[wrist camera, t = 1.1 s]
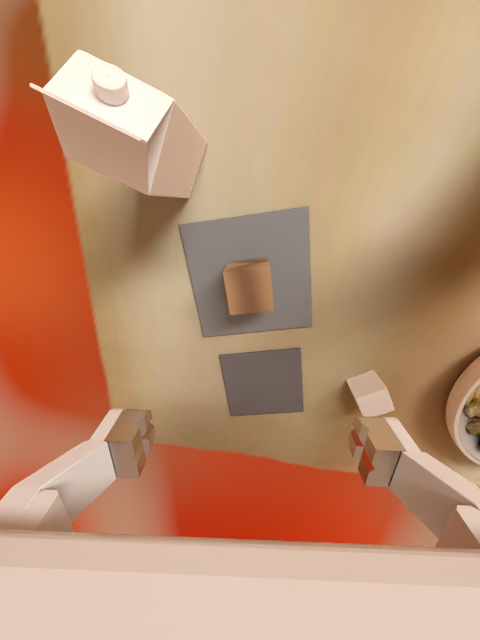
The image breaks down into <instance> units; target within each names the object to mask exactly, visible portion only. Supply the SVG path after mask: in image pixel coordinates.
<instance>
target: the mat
mask: <svg viewBox="0 0 480 640" xmlns="http://www.w3.org/2000/svg"><path fill="white" fill-rule="evenodd" d="M219 357H220V363H221V368H222V373H223V378H224V383H225V388H226V393H227V398H228V403H229V408H230V413H231V416H245V415H260V414H276V413H291V412H303V394H302V374H301V353H300V348H292V349H281V350H270V351H259V352H248V353H236V354H225V355H219Z"/></svg>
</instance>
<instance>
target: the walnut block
mask: <svg viewBox="0 0 480 640" xmlns="http://www.w3.org/2000/svg"><path fill="white" fill-rule="evenodd" d="M223 276H224V282H225V288H226V294H227V300H228V306H229V312H230V315H237V314H246V313H256V312H265V311H274V303H273V292H272V281H271V270H270V263H269V259H268V257H264V258H257V259H249V260H241V261H233V262H227V264H226V266H225V269H224V271H223Z"/></svg>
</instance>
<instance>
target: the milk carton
mask: <svg viewBox="0 0 480 640" xmlns="http://www.w3.org/2000/svg"><path fill="white" fill-rule="evenodd" d="M30 87H32V88H34V89H36V90H38V91H40V92H42V94H43V96H44V99H45V102H46V104H47V107H48V110H49V113H50V116H51V119H52V121H53V124H54V127H55V130H56V133H57V135H58V138H59V141H60V144H61V146H62V149H63V152H64V155H65V156H66V157H67V158H69V159H71V160H73V161H75V162H77V163H79V164H82V165H84V166H86V167H88V168H90V169H92V170H94V171H96V172H99V173H101V174H103V175H105V176H107V177H109V178H111V179H113V180H116V181H118V182H120V183H122V184H124V185H126V186H128V187H130V188H133V189H135V190H137V191H139V192H141V193H143V194H146V195H148V196H162V197H177V198H190V195H191V192H192V188H193V185H194V182H195V179H196V176H197V173H198V170H199V167H200V164H201V161H202V158H203V155H204V152H205V149H206V145H207V141H206V139H205V138H204V137H203V135H202V134H201V133H200V132H199V130H198V129H197V128H196V126H195V125H194V124H193V123H192V121H191V120H190V119H189V117H188V116H187V115H186V114H185V112H184V111H183V110H182V108H181V107H180V106H179V105H178V103H177V102H176V101H175V100H174V99H173V98H171V97H170V96H168V95H166V94H164V93H163V92H161V91H159V90H157V89H155V88H153V87H151V86H149V85H148V84H146V83H144V82H142V81H140V80H138V79H136V78H134V77H132V76H130V75H129V74H127V73H125V72H123V71H122V70H121V69H120V68H118V67H117V66H115V65H113V64H109V63H106V62H104V61H102V60H100V59H98V58H96V57H94V56H92V55H90V54H88V53H86V52H84V51H82V50H77V51H76V52H75V53H74V55H73V56H72V57H71V58H70V59H69V60H68V61H67V62H66V63H65V65H64V66H63V67H62V68H61V69H60V70H59V71H58V72H57V74H56V75H55V76H54V77H53V78H52V79H51V80H50V81H49V82H48V84H47V85H46V86H45V87H44V88H43V89H42V88H40V87H39V86H37V85H35V84H32V83H30Z"/></svg>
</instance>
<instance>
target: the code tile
mask: <svg viewBox="0 0 480 640" xmlns="http://www.w3.org/2000/svg"><path fill="white" fill-rule="evenodd" d="M179 227H180V231H181V236H182V240H183V245H184V249H185V254H186V259H187V263H188V268H189V272H190V277H191V281H192V286H193V291H194V295H195V300H196V304H197V309H198V313H199V318H200V323H201V327H202V332H203V336H204V337H208V336H219V335H229V334H239V333H249V332H259V331H270V330H280V329H290V328H300V327H311V326H312V317H311V279H310V242H309V206H307V207H300V208H293V209H286V210H280V211H273V212H266V213H259V214H252V215H245V216H238V217H231V218H224V219H218V220H211V221H204V222H197V223H190V224H183V225H179ZM264 257H268V259H269V263H270V270H271V281H272V292H273V303H274V311H265V312H256V313H246V314H237V315H230V312H229V306H228V300H227V294H226V288H225V282H224V276H223V271H224V269H225V266H226V264H227V262H233V261H241V260H249V259H257V258H264Z"/></svg>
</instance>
